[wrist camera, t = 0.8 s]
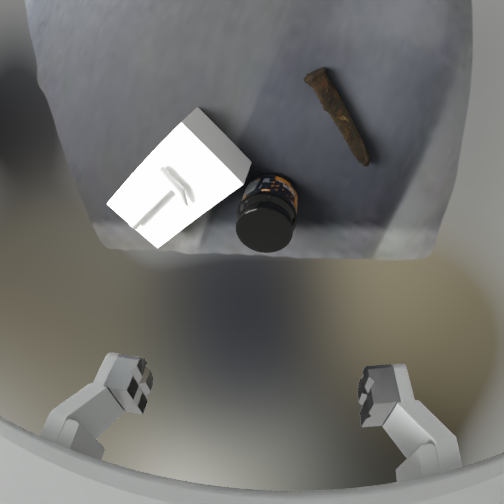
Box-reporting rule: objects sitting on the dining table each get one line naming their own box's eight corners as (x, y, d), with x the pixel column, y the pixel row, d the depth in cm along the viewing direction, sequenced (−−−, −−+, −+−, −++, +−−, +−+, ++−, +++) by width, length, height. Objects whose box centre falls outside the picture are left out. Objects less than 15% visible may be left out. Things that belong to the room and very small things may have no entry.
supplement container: (308, 202, 61) (307, 242, 52) (264, 223, 66) (256, 263, 57) (279, 160, 56) (272, 195, 47) (234, 185, 61) (219, 222, 52)
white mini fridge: (252, 161, 57) (241, 191, 49) (171, 223, 71) (153, 256, 63) (198, 106, 51) (176, 127, 43) (125, 182, 64) (100, 210, 56)
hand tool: (302, 74, 44) (301, 79, 41) (323, 64, 43) (325, 68, 39) (352, 165, 54) (355, 177, 51) (371, 157, 52) (376, 169, 49)
